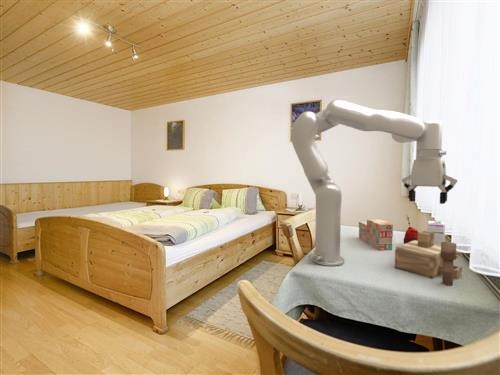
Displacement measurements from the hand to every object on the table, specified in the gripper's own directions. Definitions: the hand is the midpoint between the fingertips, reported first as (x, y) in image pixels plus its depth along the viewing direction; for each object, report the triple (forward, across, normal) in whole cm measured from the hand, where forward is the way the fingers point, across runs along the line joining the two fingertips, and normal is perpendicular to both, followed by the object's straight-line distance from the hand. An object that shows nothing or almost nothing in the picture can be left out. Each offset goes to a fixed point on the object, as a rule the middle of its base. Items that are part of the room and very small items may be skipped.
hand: (426, 202), depth 94 cm
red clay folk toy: (+24, +15, -25) cm, 38 cm away
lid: (+18, -2, +2) cm, 19 cm away
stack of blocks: (+25, +28, -15) cm, 40 cm away
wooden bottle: (+24, -10, +11) cm, 28 cm away
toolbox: (+24, -2, +2) cm, 24 cm away
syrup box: (+24, +2, -17) cm, 30 cm away
